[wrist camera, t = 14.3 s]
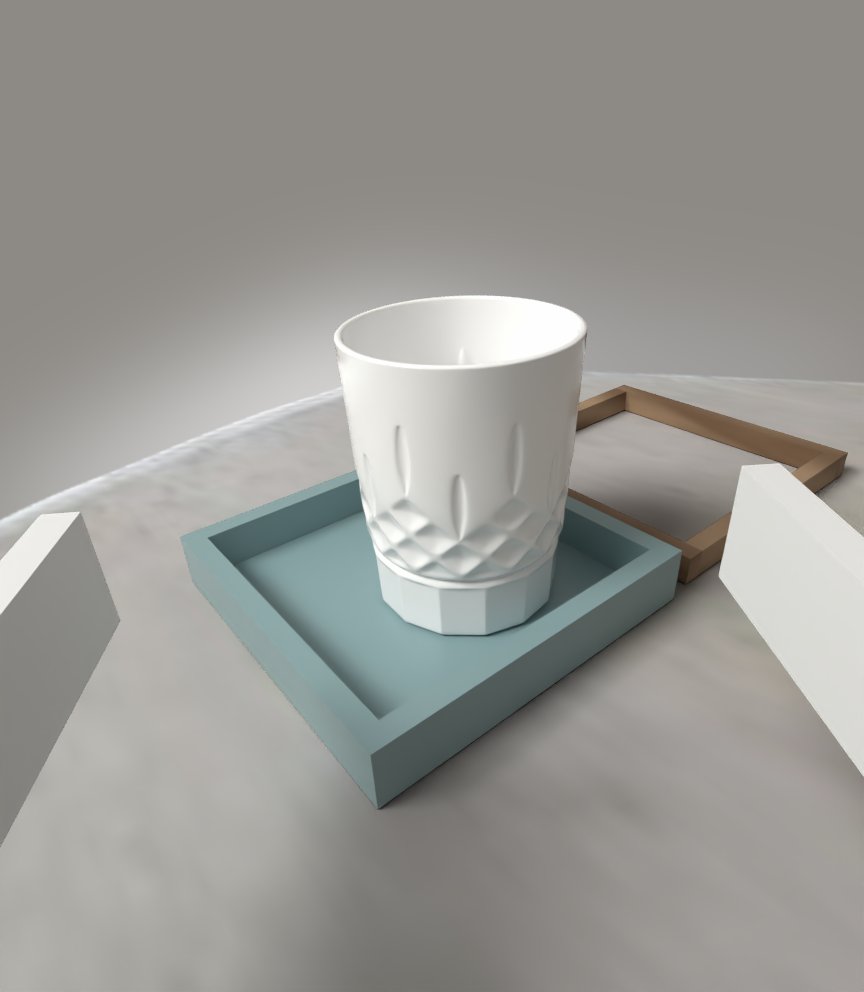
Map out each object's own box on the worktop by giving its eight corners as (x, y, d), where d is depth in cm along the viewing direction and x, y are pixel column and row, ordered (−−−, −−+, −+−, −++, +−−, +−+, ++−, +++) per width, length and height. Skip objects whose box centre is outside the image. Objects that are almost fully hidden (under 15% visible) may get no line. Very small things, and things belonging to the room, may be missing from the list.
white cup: (359, 537, 29) (330, 305, 24) (534, 515, 30) (542, 287, 25) (373, 666, 22) (338, 379, 17) (600, 632, 23) (630, 350, 18)
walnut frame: (622, 402, 42) (624, 384, 41) (841, 474, 33) (847, 452, 32) (464, 469, 35) (463, 449, 34) (685, 584, 26) (690, 558, 25)
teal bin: (445, 474, 34) (444, 436, 33) (673, 598, 25) (682, 550, 24) (192, 581, 27) (180, 536, 26) (377, 809, 18) (370, 755, 17)
